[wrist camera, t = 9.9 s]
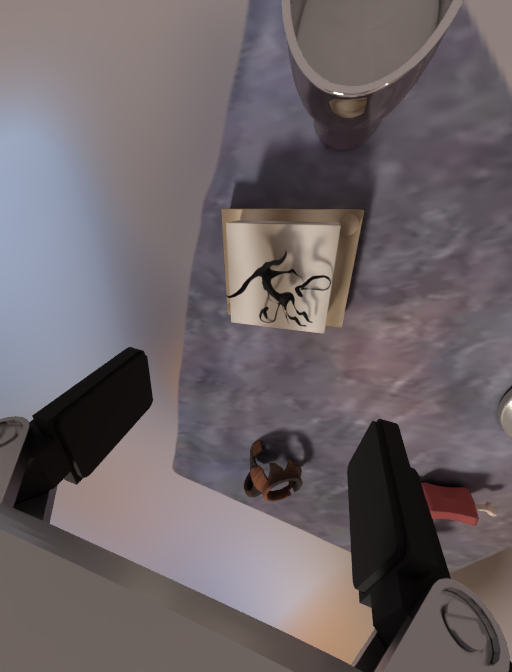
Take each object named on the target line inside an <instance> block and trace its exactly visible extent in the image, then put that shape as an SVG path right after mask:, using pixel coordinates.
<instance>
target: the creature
mask: <svg viewBox="0 0 512 672" xmlns="http://www.w3.org/2000/svg"><path fill="white" fill-rule="evenodd" d="M286 256H287V252H286V251H285V254H284V256H283V257H282V258H281V259H279V260H272V261H270V262H265V263H264V264H263V266H262V267H260V268H258V269H257V270H256V271H255V272H254V273H253V274H252V275H251V276H250V277H249V278H248V279H247V280H246V281H245V282H244V284H243V285H242V287H241V288H240V289H239V290H238V291H237V292H236V293H234V294H232V295H230V296H227V297H228V298H233V297H236V296H238V295H240V294H242V293H243V292H244V291H245V289H246V288H247V286H248V284H249V283H250V282H251V281H252V280H253V279H254V278H256V277H258V276H260V277H262V285H263V288H264V290H267V293H268V298H269V294H270V295H271V296H272V297H273V298H275V299H276V300H277V301H278V302H279V303H277V302H276V303H277V304H278V308H279V306H280V304H281V305H282V308H283V306H284V309H285V310H286V314H285V316H286V319H287V315H288V317H289V319H291V320H295V322H296V323H297V324H298V325H299V326H304V327H306V325H302V324H301V323H300V321H299V320H298V318H297V317H296V316H294V317H291V316H290V315H289V314H288V313H287V304H288V302H289V301H291V302H292V304H293V306H294V308H295V298H294V295H293V294H292V293H290V292H285V293H278V292H276V291H275V289H274V288H273V287H272V284H271V279H272V278H274V277H276V276H278V275H280V274H284V273H292V272H293V273H294V274H295V275H297V276H299V275H298V274H297V273H296V272H295V270H294V269H290V270H289V271H274V270H272V269H270V267H271V266H272V265H280V264H282V263H283V262H284V260H285V259H286ZM300 277H301V276H300ZM324 277H325V278H326V279H328V280H329V281H330V285H331V280H330V278H329V277H328V276H325V275H318V276H312V277H310V278H309V279H308V280H307V281H306V282H304V283H303V284H302V285H299V286H297V287H295V292H296V293H297V295H298V296H299V297H303V294H302V292H301V291H300V288H301V290H308V289H312V290H320V289H316V288H304V287H305V286H307V285H308V284H309V283H310V282H311V281H312V280H314V279H319V278H324ZM301 278H302V277H301ZM302 280H303V279H302ZM330 285H329V287H330ZM329 287H328V288H329ZM328 288H327V289H328ZM327 289H325V290H327ZM320 291H324V290H320ZM269 300H270V299H269ZM271 301H272V300H271ZM272 302H273V301H272ZM278 308H277V310H278ZM268 309H269V308H268V307H265V308H263V309H261V311H260V314H259V318H260V320H261V321H263V320H262V319H261V317H262V313H263V315H264V317H265V318H266V319H268V316H267V312H266V311H268ZM284 309H283V311H284ZM295 310H296V308H295ZM284 313H285V312H284ZM296 313H297V314H298V315H300V316H301V315H303V316H304V318H305V319H306V320H307V322H310V323H313V322H312V321H310V320H309V318H308V315H307V313H306V312H305V311H303V312H302V313H301V312H299V311H298V310H296ZM276 315H277V311H276V313H275V319H274V321H275V320H276ZM274 321H272V322H274ZM287 321H288V319H287ZM263 322H265V321H263ZM272 322H265V323H272ZM288 324H289V322H288Z"/></svg>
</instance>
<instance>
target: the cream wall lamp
mask: <svg viewBox="0 0 512 672" xmlns="http://www.w3.org/2000/svg"><path fill="white" fill-rule="evenodd" d="M221 210H222V226H223V242H224V258H225V275H226V291H227V296H230V295H232V294H234V293H236V292H237V291H238V290H239V289H240V288H241V287H242V285H243V284H244V282H245V281H246V280H247V279H248V278H249V277H250V276H251V275H252V274H253V273H254V272H255V271H256V270H257V269H258V268H260V267H262V266H263V264H264V263H265V262H270V261H272V260H279V259H281V258H282V257H283V256H284V254H285V251H286V252H287V256H286V259H285V260H284V262H283V263H282V264H280V265H272V266H271V267H270V269H272V270H274V271H289V270H290V269H294V270H295V272H296V273H297V274H298V275H299V276H297V275H295V274H294V273H293V272H292V273H284V274H280V275H278V276H276V277H274V278H272V279H271V284H272V287H273V288H274V289H275V291H276V292H278V293H285V292H290V293H292V294H293V295H294V298H295V308H296V310H298V311H299V312H301V313H302V312H303V311H305V312H306V313H307V315H308V318H309V320H310V321H312V322H313V323H310V322H307V320H306V319H305V318H304V316H303V315H301V316H300V315H298V314H297V313H296V310H295V308H294V306H293V304H292V302H291V301H289V302H288V304H287V313H288V314H289V315H290V316H291V317H294V316H296V317H297V318H298V320H299V321H300V323H301V324H302V325H306V327H304V326H299V325H298V324H297V323H296V322H295V320H291V319H289V317H288V315H287V319H288V321H287V319H286V316H285V314H286V310H285V309H284V306H283V308H282V305H281V304H280V306H279V308H278V304H277V303H279V302H278V301H277V300H276V299H275V298H273V297H272V296H271V295H270V294H269V298H268V293H267V290H264V288H263V285H262V277H260V276H258V277H256V278H254V279H253V280H252V281H251V282H250V283H249V284H248V286H247V288H246V289H245V291H244V292H243V293H242V294H240V295H238V296H236V297H233V298H228V297H227V309H228V314H231V322H234V323H243V324H251V325H259V326H267V327H275V328H283V329H292V330H300V331H308V332H316V333H324V331H325V325H326V326H335V327H342V323H343V318H344V313H345V307H346V302H347V297H348V292H349V287H350V282H351V276H352V271H353V266H354V261H355V256H356V250H357V245H358V240H359V235H360V230H361V224H362V219H363V214H364V210H362V209H243V208H229V209H221ZM318 275H325V276H328V277H329V278H330V280H331V285H330V281H329V280H328V279H326V278H325V277H324V278H319V279H314V280H312V281H311V282H310V283H309V284H308V285H307V286H305V287H304V288H316V289H320V290H324V291H320V290H312V289H308V290H301V288H300V291H301V292H302V294H303V297H299V296H298V295H297V293H296V292H295V287H297V286H299V285H302V284H303V283H304V282H306V281H307V280H308V279H309V278H310V277H312V276H318ZM300 276H301V277H302V278H301V277H300ZM302 279H303V280H302ZM329 285H330V287H329ZM328 287H329V288H328ZM327 288H328V289H327ZM325 289H327V290H325ZM269 299H270V300H269ZM271 300H272V301H273V302H272V301H271ZM276 302H277V303H276ZM265 307H268V308H269V309H268V311H266V312H267V316H268V319H266V318H265V317H264V315H263V313H262V317H261V319H262V320H263V321H265V322H272V321H274V319H275V313H276V311H277V315H276V320H275V321H274V322H272V323H265V322H263V321H261V320H260V318H259V314H260V311H261V309H263V308H265ZM277 308H278V310H277ZM283 309H284V311H283ZM284 312H285V313H284ZM288 322H289V324H288Z"/></svg>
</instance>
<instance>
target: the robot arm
mask: <svg viewBox="0 0 512 672" xmlns="http://www.w3.org/2000/svg"><path fill="white" fill-rule="evenodd" d="M152 402H153V397H152V389H151V382H150V374H149V367H148V359H147V356H146V355H145V353H144V351H142V350H138V349H135V348H132V347H128V348H127V349H125V350H124V351H122V352H121V353H119V354H118V355H117V356H115V357H114V358H113V359H111V360H110V361H108V362H107V363H105V364H104V365H103V366H101V367H100V368H98V369H97V370H96V371H94V372H93V373H91V374H90V375H89V376H87V377H86V378H84V379H83V380H82V381H80V382H79V383H77V384H76V385H75V386H73V387H72V388H70V389H69V390H68V391H66V392H65V393H63V394H62V395H61V396H59V397H58V398H56V399H55V400H54V401H52V402H51V403H49V404H48V405H47V406H45V407H44V408H42V409H41V410H40V411H38V412H37V413H35V414H34V415H33V418H34V419H33V420H32V421H31V422H28V420H27V419H25V418H23V417H16V416H15V417H7V418H3V419H0V672H512V663H511V661H510V656H509V651H508V647H507V643H506V640H505V638H504V635H503V633H502V631H501V629H500V626H499V624H498V623H497V621H496V620H495V618H494V617H493V615H492V613H491V612H490V610H489V609H488V608H487V607H486V606H485V604H484V603H483V602H482V601H481V600H480V598H479V597H478V596H476V595H475V594H474V593H473V592H472V591H471V590H470V589H468V588H467V587H466V586H464V585H462V584H461V583H459V582H457V581H455V580H451V578H450V574H449V571H448V568H447V565H446V561H445V558H444V555H443V552H442V549H441V545H440V542H439V539H438V536H437V532H436V529H435V526H434V523H433V519H432V516H431V513H430V510H429V507H428V503H427V500H426V497H425V494H424V490H423V487H422V484H421V481H420V478H419V475H418V473H417V471H416V470H415V469H413V468H411V467H410V464H409V461H408V457H407V454H406V450H405V447H404V443H403V440H402V436H401V433H400V429H399V426H398V425H397V424H396V423H393V422H389V421H386V420H382V419H378V420H377V422H375V421H372V422H371V424H370V426H369V428H368V429H367V431H366V433H365V435H364V437H363V439H362V440H361V442H360V444H359V446H358V448H357V450H356V451H355V453H354V455H353V457H352V459H351V460H350V462H349V465H348V470H347V475H348V496H349V516H350V536H351V555H352V576H353V584H354V587H355V589H357V590H359V601H360V603H362V604H364V605H366V606H369V607H371V608H372V618H373V626H374V627H375V629H374V631H373V632H372V634H371V635H370V637H369V638H368V640H367V641H366V643H365V644H364V646H363V647H362V649H361V650H360V652H359V653H358V655H357V656H356V658H355V659H354V661H353V662H352V664H351V665H349V664H348V663H346V662H344V661H342V660H340V659H338V658H336V657H333V656H332V655H330V654H328V653H326V652H323V651H322V650H319V649H318V648H316V647H313V646H311V645H309V644H307V643H305V642H303V641H301V640H299V639H297V638H295V637H293V636H291V635H289V634H287V633H285V632H283V631H281V630H279V629H277V628H274V627H272V626H270V625H268V624H266V623H263V622H262V621H259V620H257V619H255V618H253V617H251V616H249V615H247V614H244V613H242V612H240V611H238V610H236V609H234V608H231V607H229V606H227V605H225V604H223V603H221V602H219V601H217V600H214V599H212V598H210V597H208V596H206V595H204V594H202V593H199V592H197V591H195V590H193V589H191V588H188V587H186V586H184V585H182V584H180V583H178V582H175V581H173V580H171V579H169V578H167V577H165V576H162V575H160V574H158V573H156V572H154V571H152V570H150V569H147V568H145V567H143V566H141V565H139V564H136V563H134V562H132V561H130V560H128V559H126V558H124V557H121V556H119V555H117V554H115V553H113V552H110V551H108V550H106V549H104V548H102V547H99V546H97V545H95V544H93V543H91V542H89V541H86V540H84V539H82V538H80V537H77V536H75V535H73V534H71V533H69V532H66V531H64V530H62V529H60V528H58V527H55V526H53V525H51V524H49V523H50V518H51V514H52V509H53V504H54V499H55V495H56V490H57V485H58V484H59V483H60V482H61V481H62V480H63V479H65V480H67V481H69V482H71V483H74V484H76V485H77V484H78V483H79V481H81V480H82V479H83V478H85V477H87V476H89V475H90V474H91V473H92V472H93V471H94V469H95V468H96V467H97V466H98V465H99V464H100V463H101V462H102V461H103V459H104V458H105V457H106V456H107V455H108V454H109V453H110V451H111V450H112V449H113V448H114V447H115V446H116V445H117V444H118V443H119V442H120V440H121V439H122V438H123V437H124V436H125V435H126V434H127V432H128V431H129V430H130V429H131V428H132V427H133V426H134V424H135V423H136V422H137V421H138V420H139V419H140V418H141V416H143V414H144V413H145V412H146V411H147V410H148V409H149V408H150V406H151V405H152ZM497 418H498V421H499V424H500V426H501V427H502V428H503V430H504V431H505V433H506V434H507V435H508V436H509V437H510V438H511V439H512V389H511V390H510V391H509V392H508V393H507V394H506V395H505V396H504V397H503V399H502V400H501V402H500V404H499V407H498V410H497Z"/></svg>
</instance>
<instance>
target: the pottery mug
mask: <svg viewBox="0 0 512 672" xmlns="http://www.w3.org/2000/svg"><path fill="white" fill-rule="evenodd" d="M262 451H263V449H262V446H261V441H260V440H259V441H258V442H256V443H255V444H254V445H253V446H252V447H251V449H250V472H249V474H248V475H247V477H246V479H245V483H244V490H245V493H246V494H247V496H249V497H256V496H258V495H260V494H263V498H264V499H265V500H267V501H272V502H273V501H278V500H282V499H285V498H287V497H289V496H291V493H290V489H291V488H293V490H294V492H296V491H298V490H299V489H300V488H301V486H302V480H301V478H300V476H301V468H300V467H299V466H297V465H294V464H293V463H292V462H291V461H290V459H288V464H287V467H286V469H285V471H284V470H283V468H282V467H280V466H278V465H277V464H276V463H269V465H270V472H269V477H268V478H267V477H266V475H265V474H264V471H263V469H262V468H261V467H260V466H258V465H257V463H256V460H255V459H256V458H255V457H256V456H257V455H258V454H259V453H260V452H262ZM286 481H289V485H288V486H286V487H284V488H282V489H280V490H275V491H270V490H271V489H272V488H273V487H275V486H276V485H278V484H280V483H283V482H286Z"/></svg>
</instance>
